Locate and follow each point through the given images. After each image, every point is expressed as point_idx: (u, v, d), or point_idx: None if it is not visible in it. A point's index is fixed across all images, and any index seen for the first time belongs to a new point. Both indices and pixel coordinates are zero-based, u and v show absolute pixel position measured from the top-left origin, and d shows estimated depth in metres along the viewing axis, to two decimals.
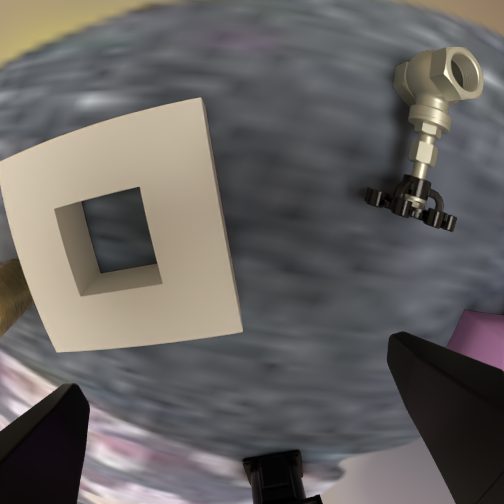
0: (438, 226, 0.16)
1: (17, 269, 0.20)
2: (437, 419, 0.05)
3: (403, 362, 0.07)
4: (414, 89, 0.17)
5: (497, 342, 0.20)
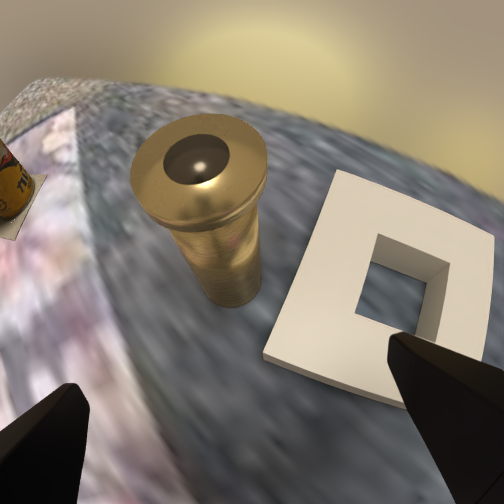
0: None
1: None
2: (437, 419, 0.05)
3: (403, 362, 0.07)
4: None
5: None
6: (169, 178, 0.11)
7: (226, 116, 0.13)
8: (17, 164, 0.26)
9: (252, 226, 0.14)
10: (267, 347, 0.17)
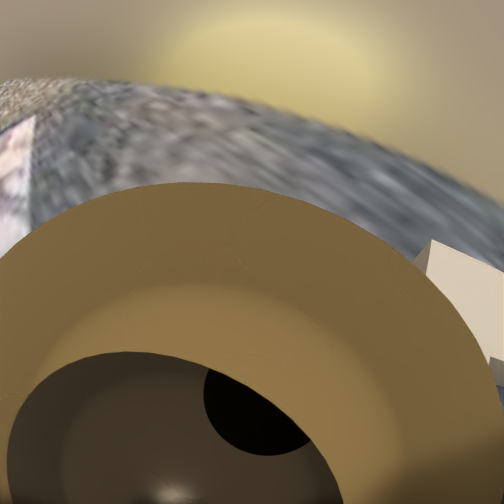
0: None
1: None
2: None
3: None
4: None
5: None
6: None
7: (299, 210, 0.02)
8: None
9: None
10: None
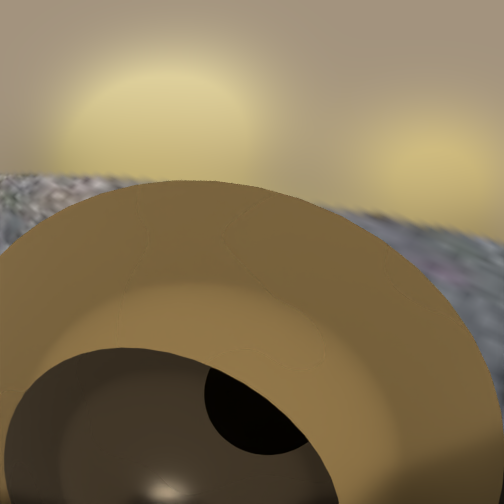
0: None
1: None
2: None
3: None
4: None
5: None
6: None
7: (295, 209, 0.02)
8: None
9: None
10: None
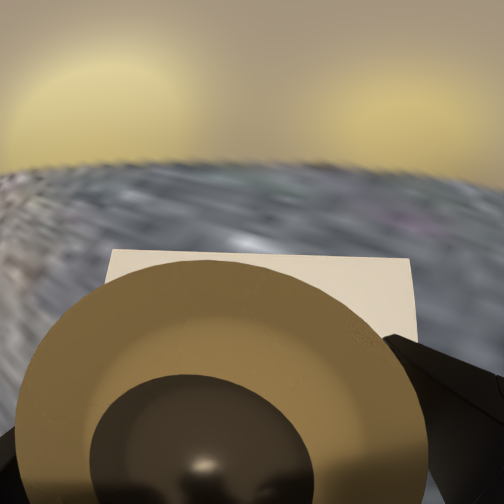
0: None
1: None
2: (428, 423, 0.05)
3: None
4: None
5: None
6: None
7: (288, 283, 0.04)
8: None
9: None
10: None
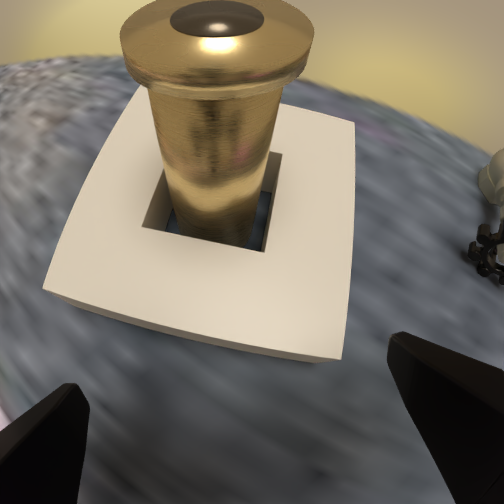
0: None
1: None
2: (437, 419, 0.05)
3: (403, 362, 0.07)
4: (497, 174, 0.20)
5: None
6: (174, 29, 0.07)
7: None
8: None
9: (267, 134, 0.10)
10: (46, 281, 0.13)
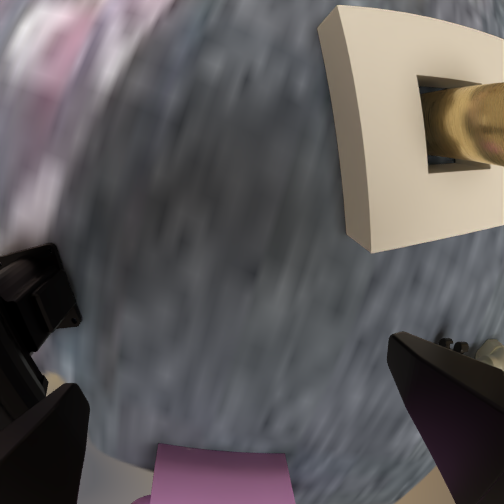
0: None
1: None
2: (437, 419, 0.05)
3: (403, 362, 0.07)
4: (499, 355, 0.23)
5: (290, 498, 0.22)
6: None
7: None
8: None
9: None
10: (343, 7, 0.12)
